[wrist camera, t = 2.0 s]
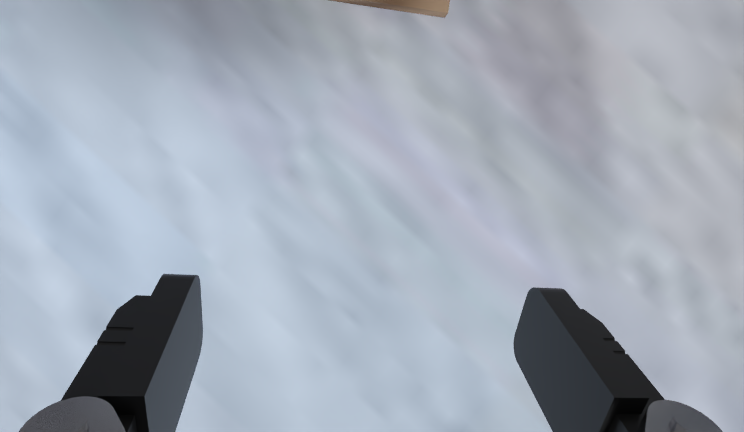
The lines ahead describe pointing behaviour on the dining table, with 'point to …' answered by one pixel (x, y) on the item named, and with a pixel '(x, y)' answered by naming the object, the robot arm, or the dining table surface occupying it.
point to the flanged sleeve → (407, 5)
